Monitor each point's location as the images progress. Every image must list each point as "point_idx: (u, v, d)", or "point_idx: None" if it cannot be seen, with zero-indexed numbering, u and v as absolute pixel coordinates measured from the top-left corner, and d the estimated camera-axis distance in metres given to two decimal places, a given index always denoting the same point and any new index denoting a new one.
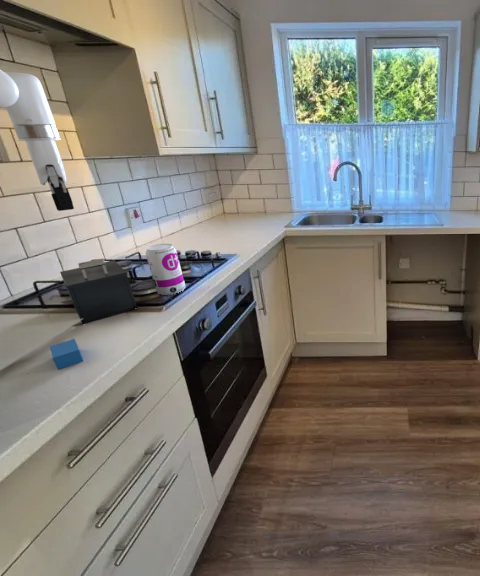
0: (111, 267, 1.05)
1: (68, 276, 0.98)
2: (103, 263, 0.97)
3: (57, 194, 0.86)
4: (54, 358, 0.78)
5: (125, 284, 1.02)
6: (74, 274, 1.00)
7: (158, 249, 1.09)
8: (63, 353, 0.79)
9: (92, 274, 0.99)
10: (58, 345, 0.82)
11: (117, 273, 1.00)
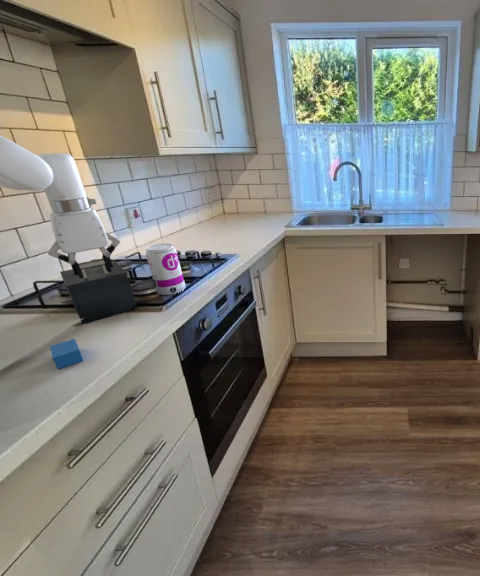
0: None
1: (68, 276, 0.98)
2: (103, 263, 0.97)
3: (70, 263, 0.93)
4: (54, 358, 0.78)
5: (125, 284, 1.02)
6: (74, 274, 1.00)
7: (158, 249, 1.09)
8: (63, 353, 0.79)
9: (92, 274, 0.99)
10: (58, 345, 0.82)
11: (117, 273, 1.00)
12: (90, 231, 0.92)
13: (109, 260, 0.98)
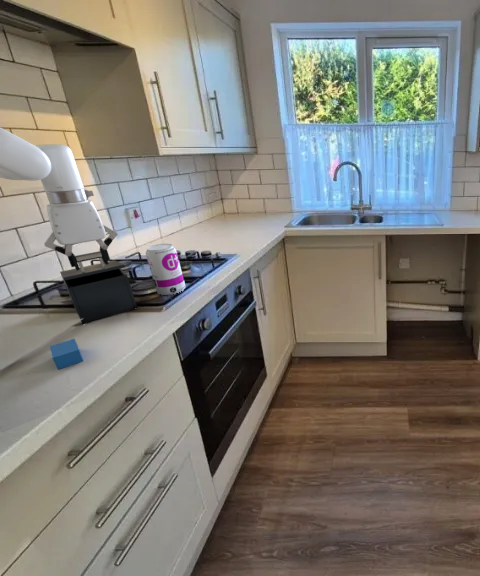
0: (110, 264, 1.04)
1: (67, 272, 0.98)
2: (100, 255, 0.97)
3: (67, 255, 0.93)
4: (54, 358, 0.78)
5: (125, 284, 1.02)
6: (73, 271, 0.99)
7: (158, 249, 1.09)
8: (63, 353, 0.79)
9: (90, 269, 0.99)
10: (58, 345, 0.82)
11: (114, 266, 0.99)
12: (87, 223, 0.92)
13: (106, 252, 0.98)
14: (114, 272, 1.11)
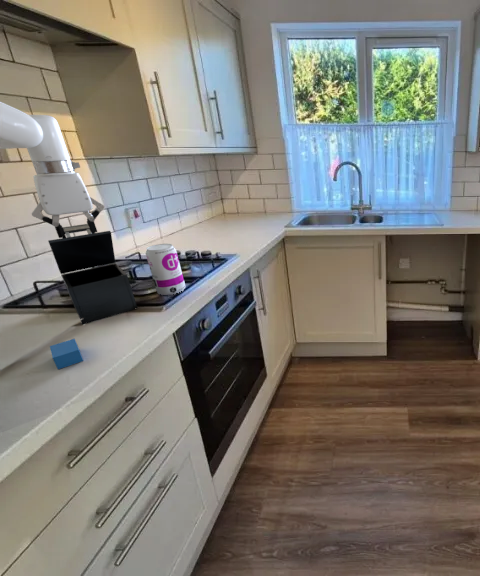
0: None
1: None
2: (87, 226, 0.98)
3: None
4: (54, 358, 0.78)
5: (125, 284, 1.02)
6: None
7: (158, 249, 1.09)
8: (63, 353, 0.79)
9: None
10: (58, 345, 0.82)
11: None
12: (74, 194, 0.94)
13: (93, 225, 1.00)
14: (114, 272, 1.11)
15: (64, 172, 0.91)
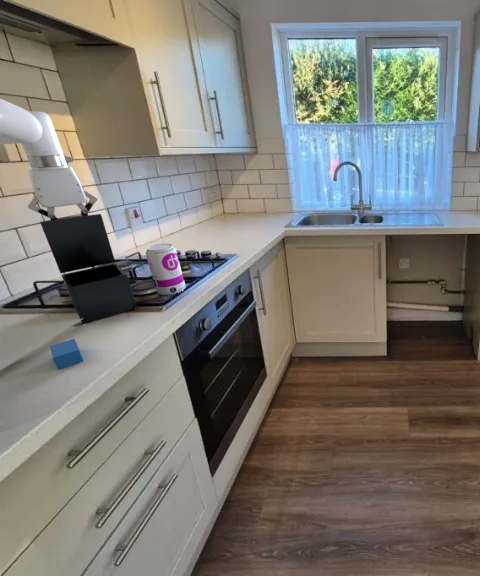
0: None
1: None
2: (80, 215, 1.03)
3: (50, 218, 1.00)
4: (54, 358, 0.78)
5: (125, 284, 1.02)
6: None
7: (158, 249, 1.09)
8: (63, 353, 0.79)
9: None
10: (58, 345, 0.82)
11: None
12: (68, 187, 0.99)
13: None
14: (114, 272, 1.11)
15: (58, 166, 0.95)
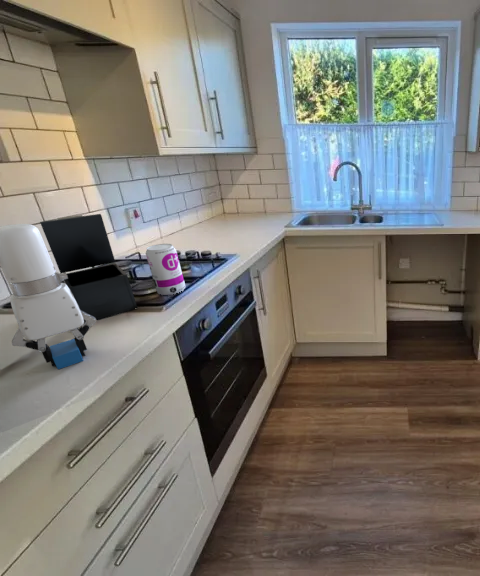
0: None
1: None
2: (80, 215, 1.03)
3: None
4: (54, 358, 0.78)
5: (125, 284, 1.02)
6: None
7: (158, 249, 1.09)
8: (63, 353, 0.79)
9: None
10: (58, 345, 0.82)
11: None
12: (61, 312, 0.77)
13: (82, 342, 0.83)
14: (114, 272, 1.11)
15: (48, 291, 0.74)
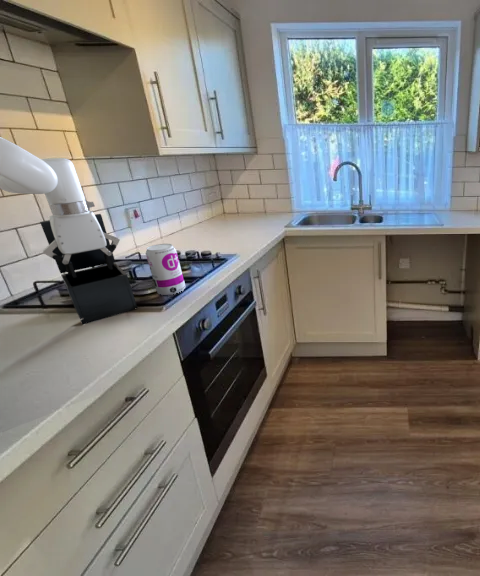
0: None
1: None
2: None
3: (64, 263, 0.96)
4: None
5: (125, 284, 1.02)
6: None
7: (158, 249, 1.09)
8: None
9: None
10: None
11: None
12: (89, 233, 0.96)
13: (110, 258, 1.02)
14: (114, 272, 1.11)
15: (80, 213, 0.92)
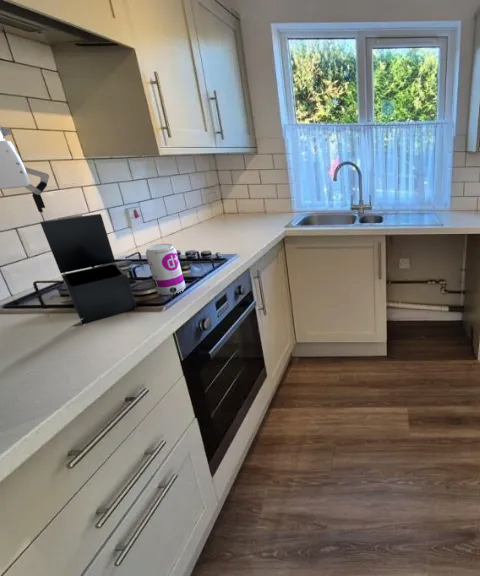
0: None
1: None
2: (80, 215, 1.03)
3: None
4: None
5: (125, 284, 1.02)
6: None
7: (158, 249, 1.09)
8: None
9: None
10: None
11: None
12: (5, 166, 0.79)
13: (40, 199, 0.85)
14: (114, 272, 1.11)
15: None
